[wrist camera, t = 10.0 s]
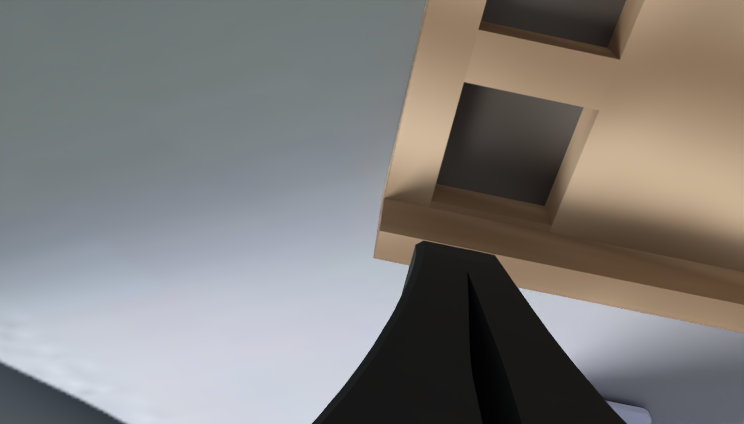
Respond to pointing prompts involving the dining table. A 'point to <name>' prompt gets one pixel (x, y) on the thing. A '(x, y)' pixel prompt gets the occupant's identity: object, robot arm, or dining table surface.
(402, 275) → the dining table surface
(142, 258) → the dining table surface
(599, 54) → the tray
